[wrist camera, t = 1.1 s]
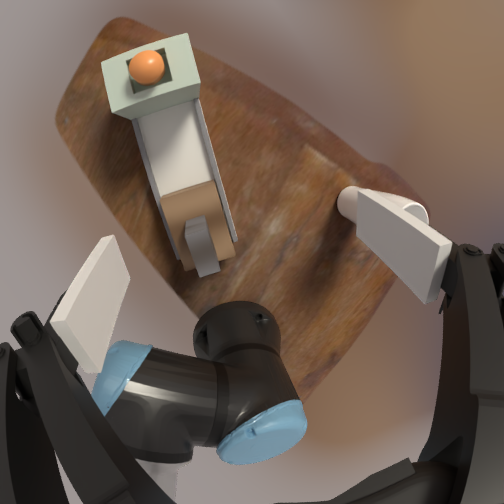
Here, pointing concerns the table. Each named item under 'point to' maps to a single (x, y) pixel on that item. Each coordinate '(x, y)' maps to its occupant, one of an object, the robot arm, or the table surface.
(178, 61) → the end cabinet
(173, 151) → the track
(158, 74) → the button
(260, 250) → the table surface
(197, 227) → the carriage
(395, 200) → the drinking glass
